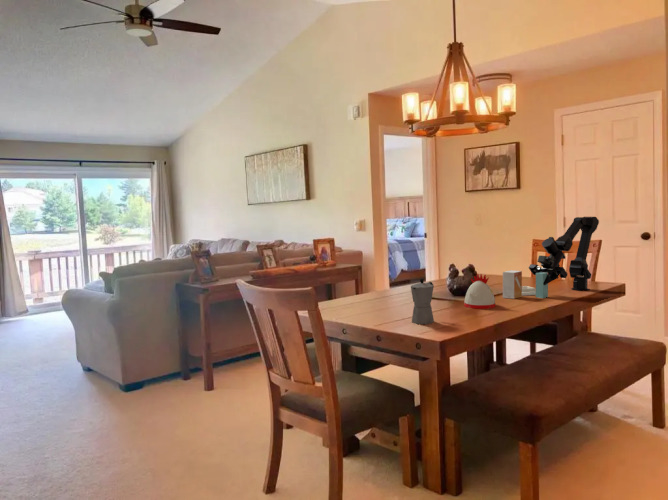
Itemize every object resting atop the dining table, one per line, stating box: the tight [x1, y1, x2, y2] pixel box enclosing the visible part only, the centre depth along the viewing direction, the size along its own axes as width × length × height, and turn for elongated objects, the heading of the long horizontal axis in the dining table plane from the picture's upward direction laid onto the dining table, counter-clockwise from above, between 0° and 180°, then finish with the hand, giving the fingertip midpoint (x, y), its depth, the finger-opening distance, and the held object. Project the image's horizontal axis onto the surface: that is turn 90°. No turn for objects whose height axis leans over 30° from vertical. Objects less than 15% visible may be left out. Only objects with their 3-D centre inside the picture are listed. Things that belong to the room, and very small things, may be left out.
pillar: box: [535, 272, 549, 299], centre depth 256 cm, size 4×4×12 cm
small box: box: [502, 269, 523, 300], centre depth 259 cm, size 8×6×13 cm
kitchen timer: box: [463, 273, 496, 310], centre depth 241 cm, size 14×14×15 cm
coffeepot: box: [410, 277, 435, 325], centre depth 214 cm, size 15×9×18 cm, turn 141°
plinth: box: [522, 285, 536, 297], centre depth 269 cm, size 12×12×3 cm
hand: (540, 284), depth 256 cm, fingers closed on pillar, 4 cm apart
